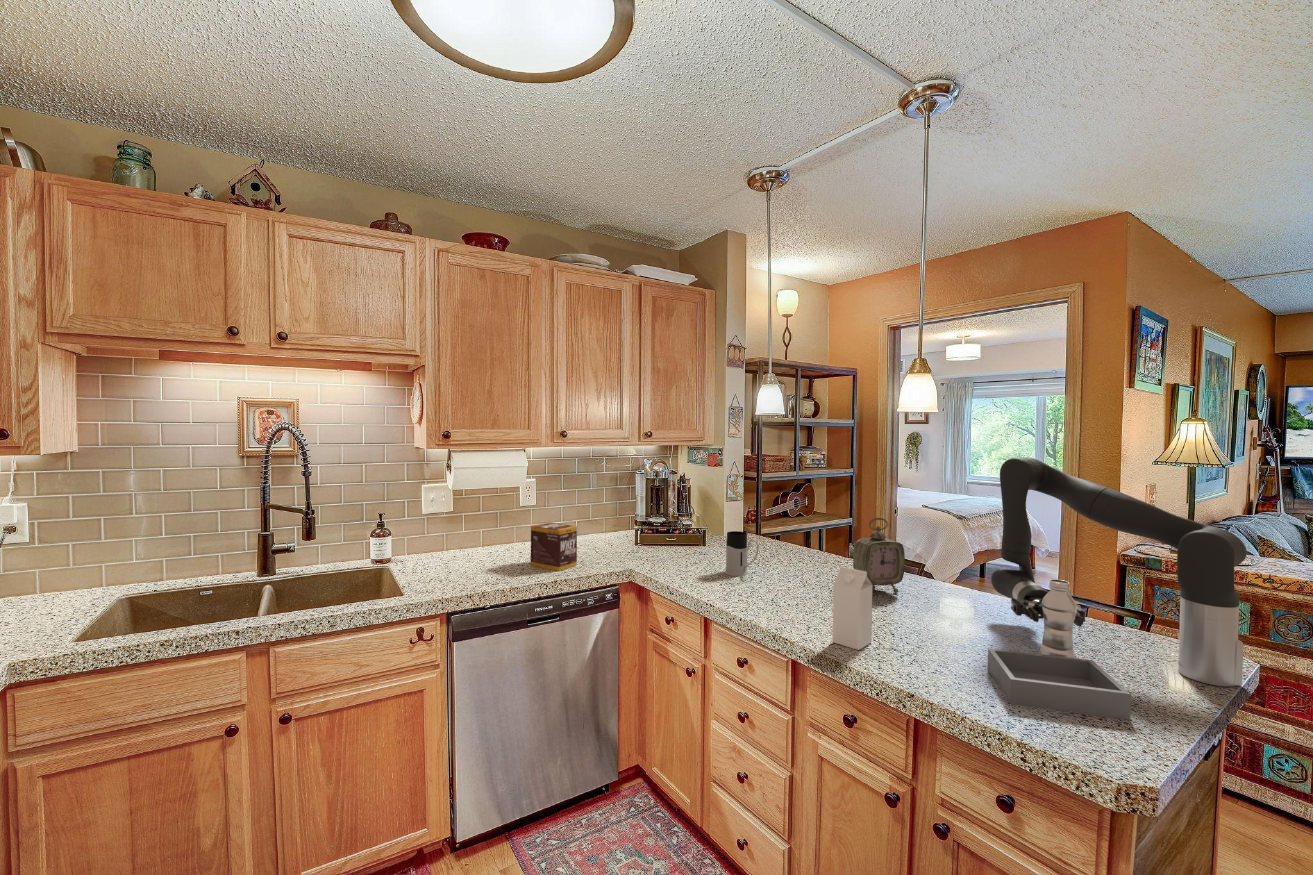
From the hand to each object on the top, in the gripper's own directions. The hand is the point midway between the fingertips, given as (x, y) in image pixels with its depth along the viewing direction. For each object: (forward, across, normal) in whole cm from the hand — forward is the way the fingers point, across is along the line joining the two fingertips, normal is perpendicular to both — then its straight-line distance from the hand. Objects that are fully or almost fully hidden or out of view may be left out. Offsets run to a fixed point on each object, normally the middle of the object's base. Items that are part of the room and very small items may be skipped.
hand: (1058, 619), depth 128 cm
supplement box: (-45, -153, +11) cm, 160 cm away
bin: (+15, -6, +11) cm, 19 cm away
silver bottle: (0, 0, +11) cm, 11 cm away
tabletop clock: (-49, -35, +11) cm, 61 cm away
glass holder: (-56, -81, +11) cm, 99 cm away
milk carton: (0, -45, +11) cm, 46 cm away
